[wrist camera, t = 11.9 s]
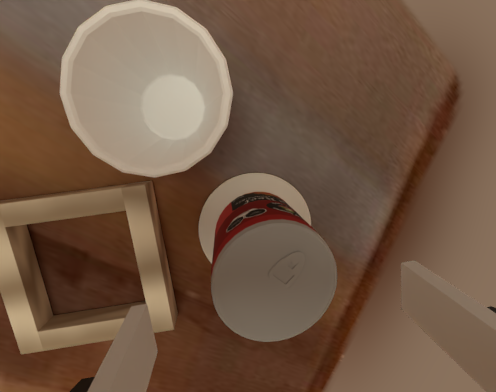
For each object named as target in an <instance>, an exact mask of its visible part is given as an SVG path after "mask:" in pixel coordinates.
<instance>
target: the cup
mask: <svg viewBox="0 0 496 392" xmlns="http://www.w3.org/2000/svg"><path fill="white" fill-rule="evenodd" d="M59 94H60V97H61V100H62V103H63V106H64V109H65V112H66V115H67V118H68V121H69V124H70V127H71V128H72V130H73V131H74V132H75V133H76V135H77V136H78V137H79V138H80V140H81V141H82V142H83V143H84V144H85V146H86V147H87V148H88V149H89V151H90V152H91V153H92V154H93V155H94V156H96V157H97V158H99V159H101V160H102V161H104V162H106V163H108V164H109V165H111V166H113V167H114V168H116V169H118V170H120V171H121V172H124V173H130V174H136V175H142V176H148V177H154V178H156V177H160V176H165V175H169V174H174V173H178V172H183V171H186V170H188V169H189V168H190V167H192V166H193V165H195V164H196V163H197V162H199V161H200V160H202V159H203V158H205V157H206V156H207V155H209V154H210V153H211V152H212V151H213V149H214V147H215V146H216V144H217V142H218V141H219V139H220V138H221V136H222V134H223V133H224V131H225V130H226V128H227V126H228V121H229V115H230V109H231V103H232V97H233V90H232V85H231V81H230V76H229V71H228V66H227V62H226V58H225V57H224V55H223V54H222V52H221V51H220V49H219V48H218V46H217V45H216V43H215V41H214V40H213V38H212V37H211V35H210V34H209V32H208V31H207V29H206V28H205V27H203V26H202V25H200V24H199V23H198V22H196V21H195V20H193V19H192V18H191V17H189V16H188V15H187V14H185V13H184V12H182V11H181V10H180V9H178V8H177V7H173V6H169V5H165V4H161V3H156V2H152V1H148V0H133V1H128V2H122V3H117V4H112V5H107V6H105V7H104V8H102V9H101V10H100V11H98V12H97V13H96V14H94V15H93V16H92V17H90V18H89V19H88V20H86V21H85V22H84V23H82V24H81V25H80V26H78V28H77V30H76V32H75V33H74V35H73V37H72V39H71V41H70V43H69V45H68V47H67V49H66V51H65V53H64V55H63V56H62V61H61V77H60V93H59Z"/></svg>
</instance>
